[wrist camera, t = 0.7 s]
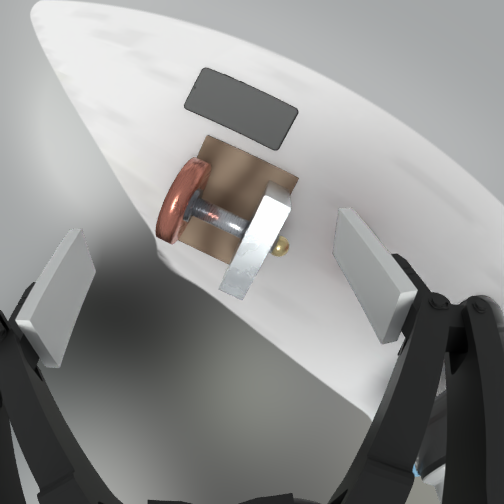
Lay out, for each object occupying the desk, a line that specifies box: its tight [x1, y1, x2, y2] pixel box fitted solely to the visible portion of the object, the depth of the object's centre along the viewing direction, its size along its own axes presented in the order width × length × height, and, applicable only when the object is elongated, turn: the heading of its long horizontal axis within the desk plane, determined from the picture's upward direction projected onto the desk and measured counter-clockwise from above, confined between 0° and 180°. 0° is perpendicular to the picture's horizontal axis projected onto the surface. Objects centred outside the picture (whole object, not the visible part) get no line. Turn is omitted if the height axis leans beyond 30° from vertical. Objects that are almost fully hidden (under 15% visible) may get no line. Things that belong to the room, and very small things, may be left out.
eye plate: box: [219, 180, 291, 300], centre depth 40 cm, size 3×12×13 cm, turn 155°
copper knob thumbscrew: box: [156, 157, 289, 257], centre depth 39 cm, size 16×11×11 cm
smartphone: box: [184, 68, 298, 150], centre depth 41 cm, size 7×1×15 cm
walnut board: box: [178, 135, 299, 264], centre depth 45 cm, size 14×16×1 cm
